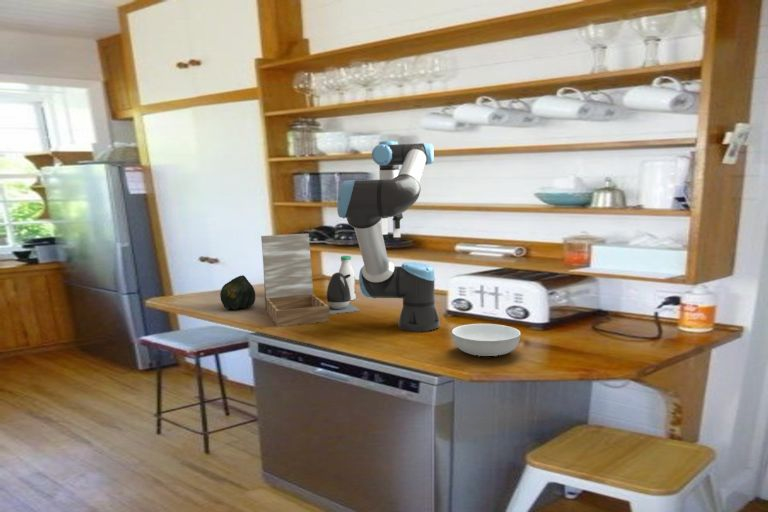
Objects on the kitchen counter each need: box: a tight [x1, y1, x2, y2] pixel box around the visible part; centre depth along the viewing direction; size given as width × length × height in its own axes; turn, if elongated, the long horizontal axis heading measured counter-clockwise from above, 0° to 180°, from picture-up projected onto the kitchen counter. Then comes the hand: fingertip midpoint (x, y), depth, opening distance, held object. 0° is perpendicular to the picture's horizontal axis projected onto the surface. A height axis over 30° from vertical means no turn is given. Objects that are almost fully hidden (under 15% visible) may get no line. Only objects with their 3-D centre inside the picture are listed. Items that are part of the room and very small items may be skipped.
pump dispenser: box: [325, 271, 352, 309], centre depth 235 cm, size 10×10×15 cm
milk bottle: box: [338, 255, 357, 301], centre depth 254 cm, size 8×8×20 cm
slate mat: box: [327, 303, 361, 315], centre depth 236 cm, size 14×14×1 cm
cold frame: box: [260, 233, 330, 328], centre depth 225 cm, size 32×20×32 cm, turn 21°
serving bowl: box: [451, 323, 521, 357], centre depth 172 cm, size 21×21×7 cm
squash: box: [219, 274, 256, 310], centre depth 242 cm, size 14×15×15 cm
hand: (390, 235), depth 221 cm, fingers open, 13 cm apart
